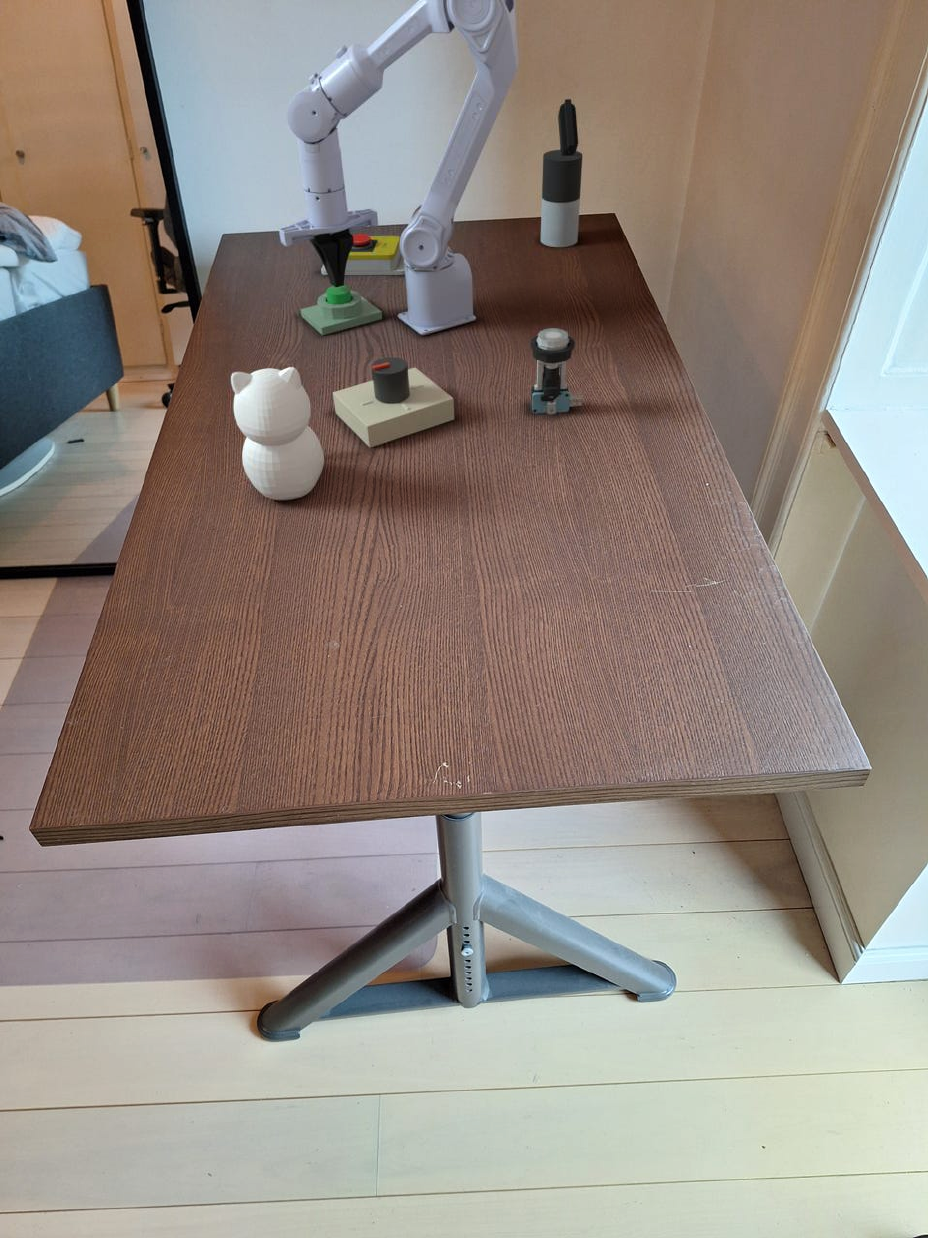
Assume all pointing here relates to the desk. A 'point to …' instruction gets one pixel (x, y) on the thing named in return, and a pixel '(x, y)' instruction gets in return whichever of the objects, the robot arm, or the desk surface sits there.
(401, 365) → the dimmer knob
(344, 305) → the switch block
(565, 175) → the track light
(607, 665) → the desk surface
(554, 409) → the push button
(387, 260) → the emergency button
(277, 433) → the cat figurine
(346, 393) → the dimmer panel
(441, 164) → the robot arm
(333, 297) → the light button
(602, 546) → the desk surface
